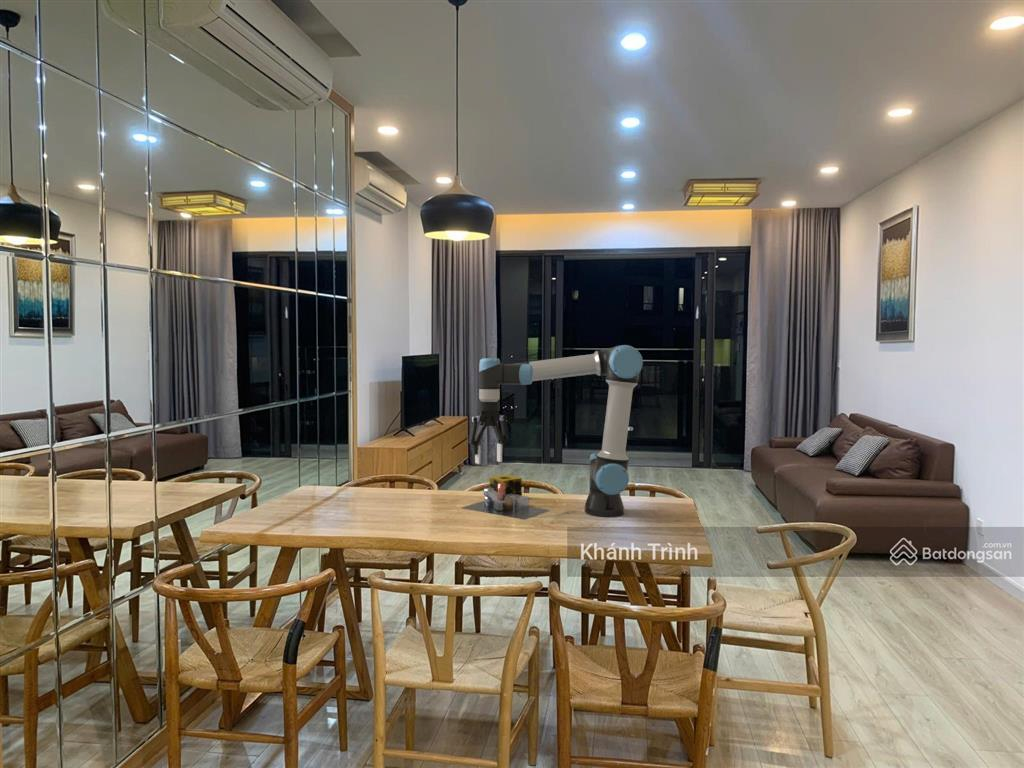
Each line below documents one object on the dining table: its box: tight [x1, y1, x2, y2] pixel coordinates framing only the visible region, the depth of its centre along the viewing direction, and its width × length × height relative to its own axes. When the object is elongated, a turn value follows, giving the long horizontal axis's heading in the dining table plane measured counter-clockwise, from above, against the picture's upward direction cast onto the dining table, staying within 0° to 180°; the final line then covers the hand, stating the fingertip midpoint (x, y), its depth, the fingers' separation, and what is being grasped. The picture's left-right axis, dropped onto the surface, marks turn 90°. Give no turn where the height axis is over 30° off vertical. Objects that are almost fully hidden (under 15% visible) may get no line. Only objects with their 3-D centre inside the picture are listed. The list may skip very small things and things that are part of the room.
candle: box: [489, 474, 523, 497], centre depth 276 cm, size 10×10×10 cm
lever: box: [483, 483, 505, 510], centre depth 253 cm, size 18×4×11 cm, turn 20°
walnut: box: [503, 497, 513, 510], centre depth 256 cm, size 4×4×4 cm
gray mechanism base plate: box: [461, 494, 551, 521], centre depth 255 cm, size 30×18×6 cm, turn 55°
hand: (488, 462), depth 243 cm, fingers open, 8 cm apart
